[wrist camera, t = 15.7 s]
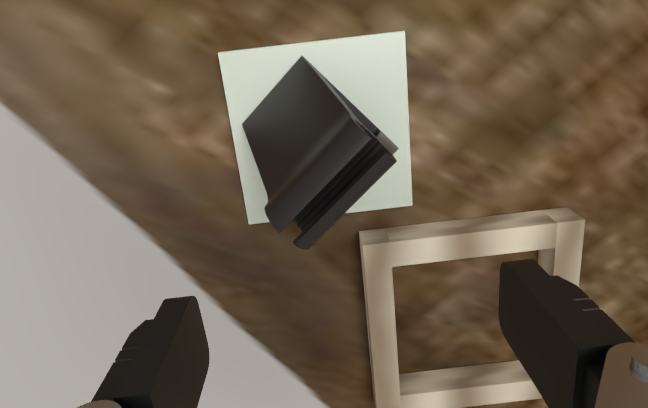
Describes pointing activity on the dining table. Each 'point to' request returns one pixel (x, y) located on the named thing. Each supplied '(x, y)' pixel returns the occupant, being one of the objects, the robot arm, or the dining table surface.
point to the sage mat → (351, 80)
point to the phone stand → (314, 152)
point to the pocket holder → (450, 244)
